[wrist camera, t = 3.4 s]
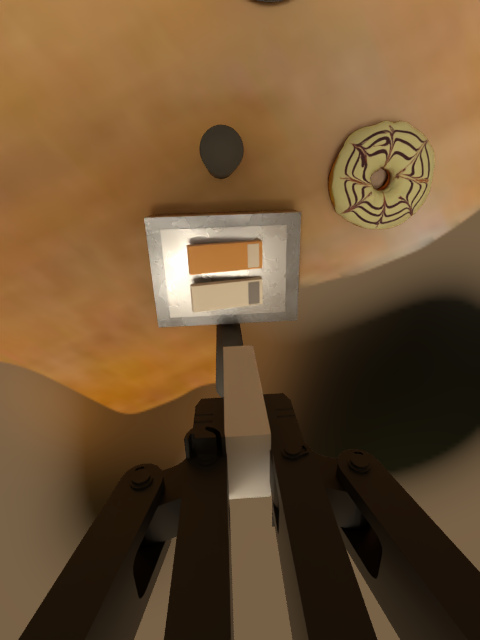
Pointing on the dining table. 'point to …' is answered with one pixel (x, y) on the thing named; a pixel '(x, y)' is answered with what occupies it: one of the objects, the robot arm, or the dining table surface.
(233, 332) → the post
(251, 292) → the paddle ivory
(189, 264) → the paddle orange
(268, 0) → the beverage bottle
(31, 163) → the dining table surface
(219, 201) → the dining table surface
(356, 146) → the decorated donut
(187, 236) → the breaker box
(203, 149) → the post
